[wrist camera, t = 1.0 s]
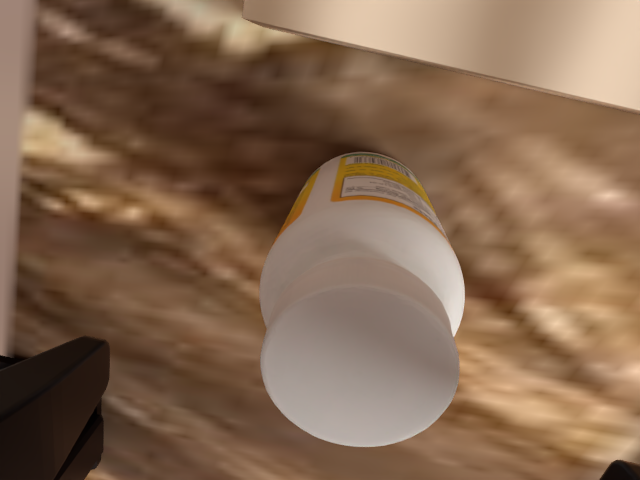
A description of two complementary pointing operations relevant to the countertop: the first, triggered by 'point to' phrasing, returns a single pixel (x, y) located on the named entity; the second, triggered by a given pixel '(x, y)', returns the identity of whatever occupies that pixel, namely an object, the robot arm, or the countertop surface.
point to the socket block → (486, 39)
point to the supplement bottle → (361, 306)
